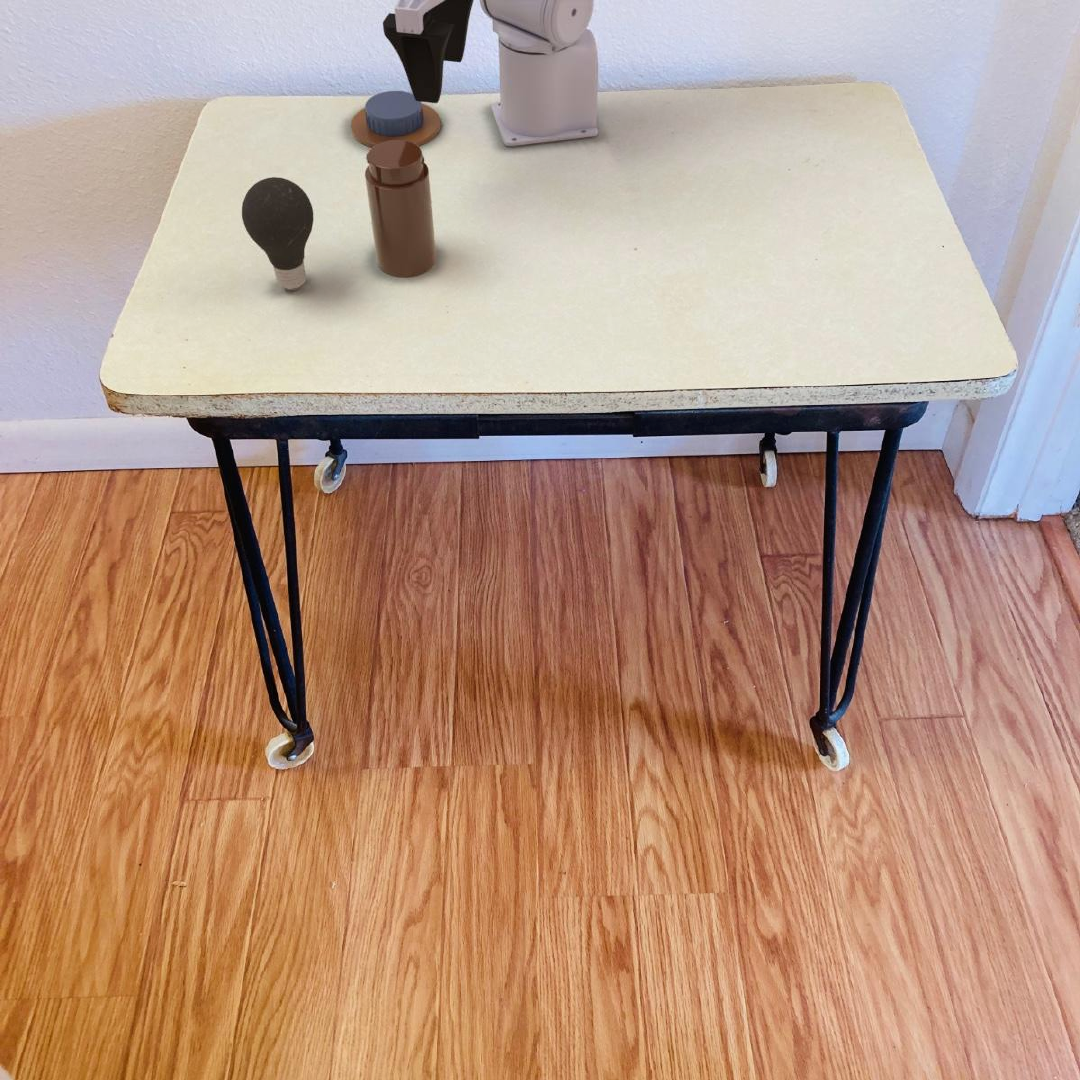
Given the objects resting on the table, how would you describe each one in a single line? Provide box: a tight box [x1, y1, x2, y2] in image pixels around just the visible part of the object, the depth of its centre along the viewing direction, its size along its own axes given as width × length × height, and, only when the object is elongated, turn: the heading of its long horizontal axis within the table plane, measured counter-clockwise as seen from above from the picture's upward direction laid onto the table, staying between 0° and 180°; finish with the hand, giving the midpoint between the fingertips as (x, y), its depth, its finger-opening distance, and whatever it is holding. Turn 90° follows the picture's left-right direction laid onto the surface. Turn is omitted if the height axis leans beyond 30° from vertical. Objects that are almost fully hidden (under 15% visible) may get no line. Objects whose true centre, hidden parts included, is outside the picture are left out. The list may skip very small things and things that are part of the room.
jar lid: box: [364, 90, 424, 136], centre depth 109 cm, size 6×6×2 cm
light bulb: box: [241, 176, 314, 291], centre depth 89 cm, size 6×6×10 cm
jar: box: [364, 140, 437, 278], centre depth 91 cm, size 5×5×10 cm
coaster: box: [350, 102, 442, 148], centre depth 110 cm, size 9×9×1 cm
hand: (439, 79), depth 97 cm, fingers open, 7 cm apart
